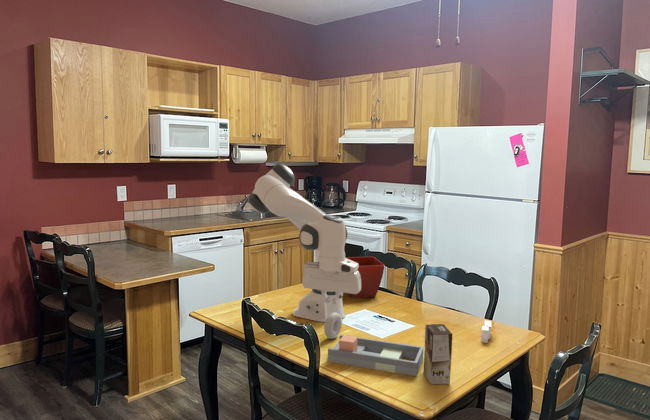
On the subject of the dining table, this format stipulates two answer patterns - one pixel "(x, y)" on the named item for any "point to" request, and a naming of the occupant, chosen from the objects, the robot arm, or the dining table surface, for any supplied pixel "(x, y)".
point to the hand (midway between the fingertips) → (331, 303)
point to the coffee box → (437, 353)
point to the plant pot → (368, 276)
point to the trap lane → (380, 356)
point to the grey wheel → (332, 325)
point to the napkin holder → (486, 332)
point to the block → (348, 343)
